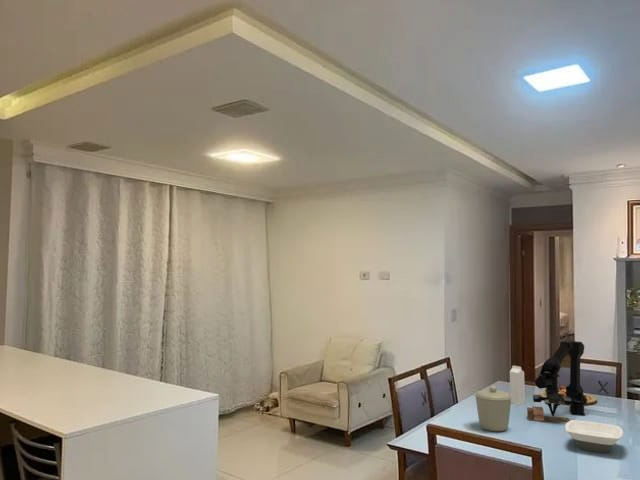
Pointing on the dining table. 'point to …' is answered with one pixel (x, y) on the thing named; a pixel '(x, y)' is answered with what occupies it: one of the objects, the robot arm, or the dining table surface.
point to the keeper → (538, 413)
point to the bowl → (594, 435)
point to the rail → (546, 417)
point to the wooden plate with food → (590, 399)
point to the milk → (517, 385)
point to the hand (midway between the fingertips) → (552, 416)
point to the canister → (493, 409)
